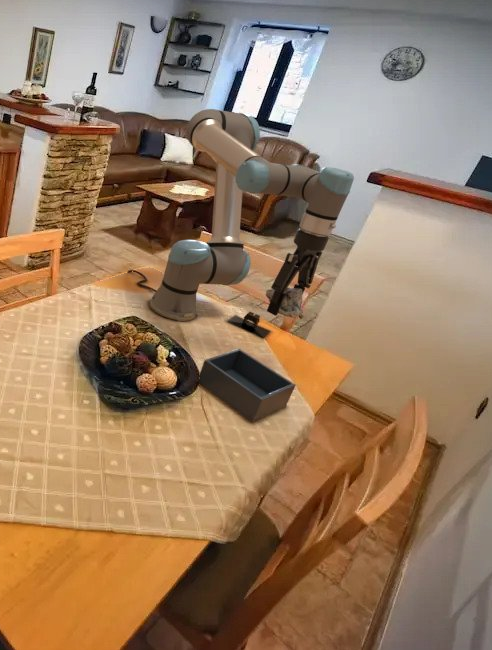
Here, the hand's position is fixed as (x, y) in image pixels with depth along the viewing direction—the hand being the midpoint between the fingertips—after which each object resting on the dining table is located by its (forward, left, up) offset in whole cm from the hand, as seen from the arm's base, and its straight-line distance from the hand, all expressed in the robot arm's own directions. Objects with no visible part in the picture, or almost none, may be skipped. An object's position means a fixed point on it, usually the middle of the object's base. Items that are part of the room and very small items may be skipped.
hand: (281, 310), depth 136 cm
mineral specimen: (0, 0, 0) cm, 0 cm away
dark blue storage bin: (+7, -18, -18) cm, 27 cm away
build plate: (-16, +17, -18) cm, 29 cm away
